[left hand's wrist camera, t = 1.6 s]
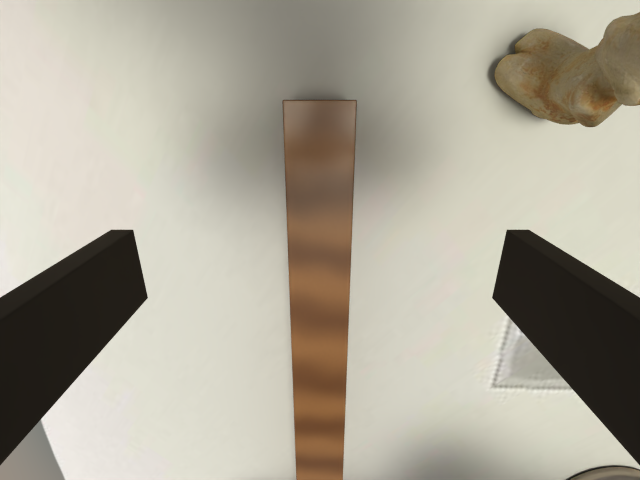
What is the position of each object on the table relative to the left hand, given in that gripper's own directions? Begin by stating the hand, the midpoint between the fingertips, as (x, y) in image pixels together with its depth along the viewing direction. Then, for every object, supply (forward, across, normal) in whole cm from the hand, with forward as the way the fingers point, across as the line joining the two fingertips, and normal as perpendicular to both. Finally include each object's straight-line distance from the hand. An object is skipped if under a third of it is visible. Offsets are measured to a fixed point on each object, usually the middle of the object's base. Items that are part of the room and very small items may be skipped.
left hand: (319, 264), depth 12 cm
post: (+21, 0, -22) cm, 30 cm away
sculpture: (+21, +18, +7) cm, 28 cm away
